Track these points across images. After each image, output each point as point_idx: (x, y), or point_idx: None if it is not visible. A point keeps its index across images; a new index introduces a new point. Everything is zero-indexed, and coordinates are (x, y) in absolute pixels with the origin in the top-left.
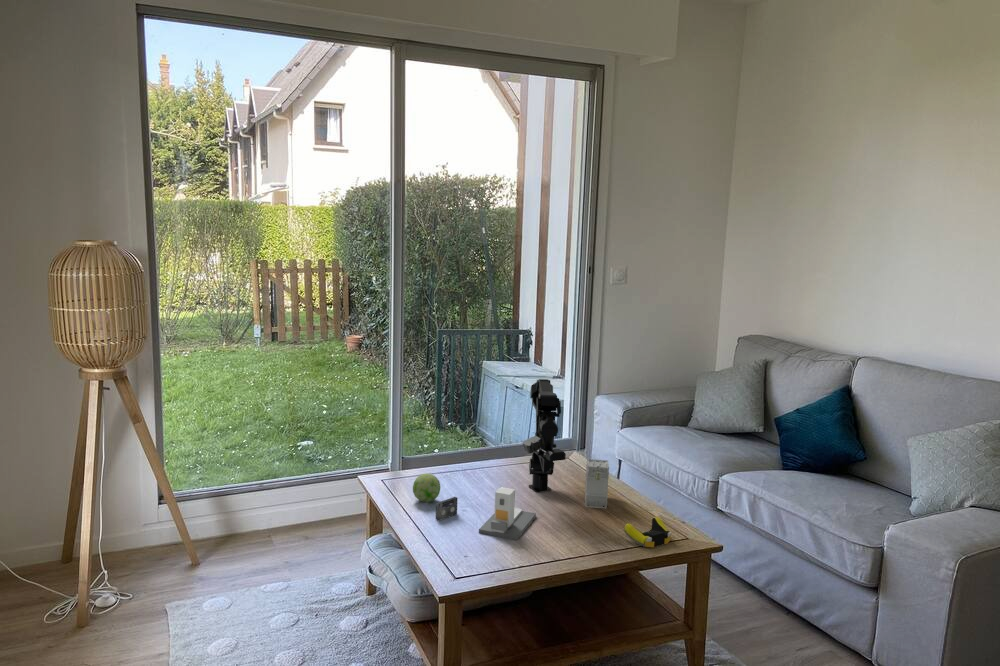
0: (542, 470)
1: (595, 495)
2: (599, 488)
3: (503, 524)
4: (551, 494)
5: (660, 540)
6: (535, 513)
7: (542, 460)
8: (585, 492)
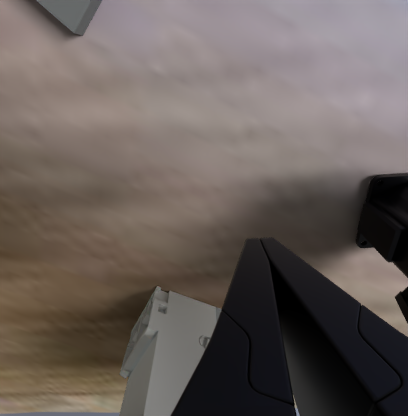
0: (278, 242)
1: (134, 348)
2: (133, 387)
3: None
4: (316, 228)
5: None
6: (71, 27)
7: (280, 375)
8: None
